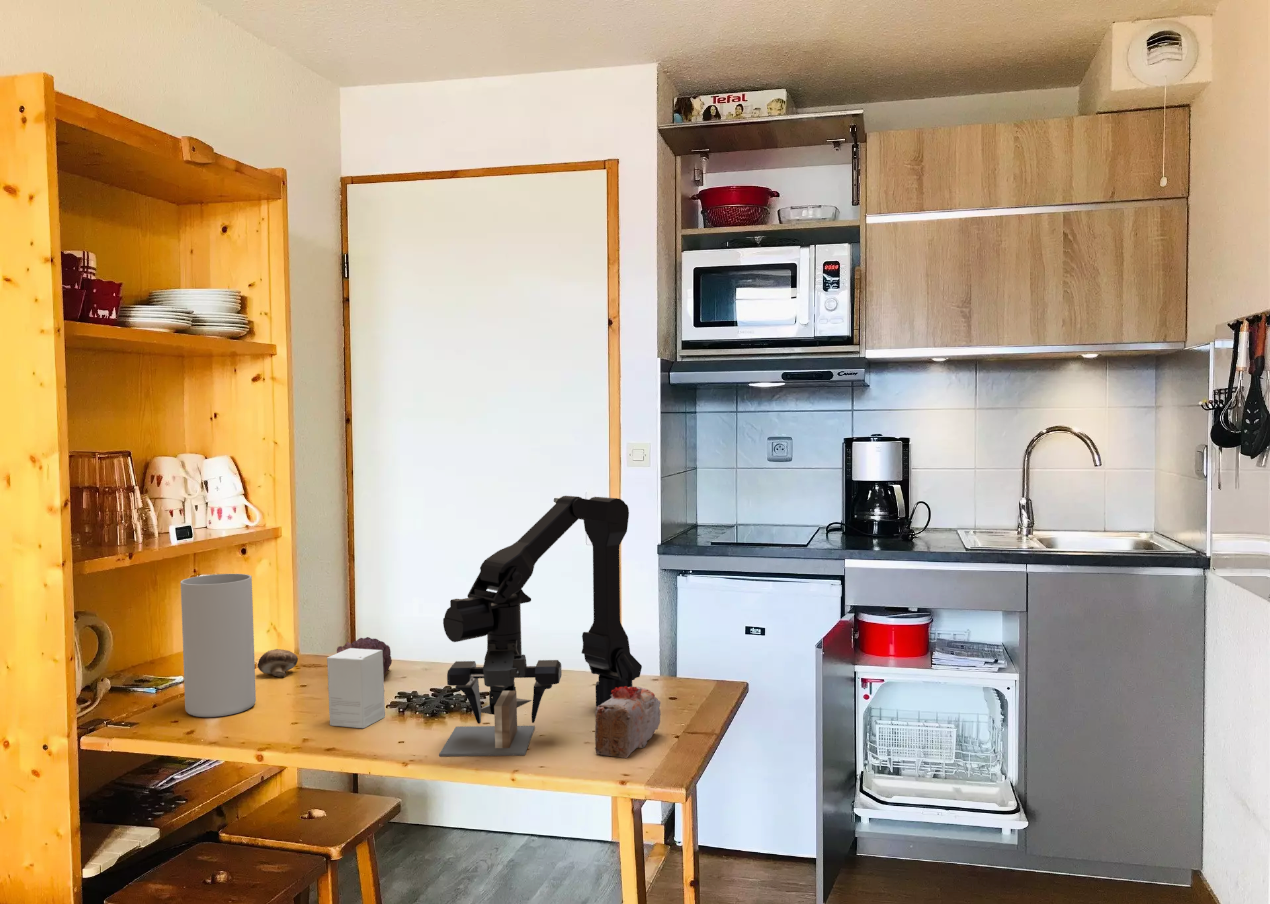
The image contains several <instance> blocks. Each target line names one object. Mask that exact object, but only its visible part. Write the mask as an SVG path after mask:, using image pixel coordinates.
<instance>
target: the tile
mask: <svg viewBox="0 0 1270 904" xmlns="http://www.w3.org/2000/svg"><path fill="white" fill-rule="evenodd" d="M493 719H494V726H495V748H510V746H511V744H512V741H513V739H514V737H515V734H516V732H517V726H518V707H517V690H516V691H502V693H501V695H500V697H499V698H498V700H497V702H496V704H495V706H494V717H493Z"/></svg>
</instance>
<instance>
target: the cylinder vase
mask: <svg viewBox="0 0 1270 904" xmlns="http://www.w3.org/2000/svg"><path fill="white" fill-rule="evenodd" d="M252 577H253V576H252V575H249V574H246V573H220V574H219V573H218V574H207V575H200V576H199V575H198V576H192V577H189V578H184V579H182V580H181V581H180V604H181V626H182V627H181V628H182V629H181V630H182V653H183V681H184V684H183V686H184V710H185V712H186V713H187V714H189V715H190V716H192V717H197V718H198V717H199V718H218V717H226V716H227V717H228V716H231V715H236V714H239V713H243V712H244V711H247V710H249V709H251V708H252V707H253V706H254V705H255V704H256V701H257V699H256V698H257V696H256V695H257V694H256V692H257V689H256V665H255V663H256V661H255V639H254V638H255V636H254V634H255V633H254V610H253V609H254V606H253V582H252V581H253V578H252Z"/></svg>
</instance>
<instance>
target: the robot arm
mask: <svg viewBox="0 0 1270 904" xmlns="http://www.w3.org/2000/svg"><path fill="white" fill-rule="evenodd" d="M629 517H630V510H629V506H628V504H626V503H625V501H624V500H623V499H621V498H617V497H615V498H614V497H606V496H604V497H603V496H593V497H590V498H589V499H587V498H582V497H581V496H572V495H563V496H560V497H559V498H558V499H557V500H556V501H555V504H554V505H553V506H552V507H551V508H550V509H549V510H548V511H547V512H546V513H544V515H543V516H541V518H539V520H537V522H535V523H534V525H532V526H531V527H530V528H529V529H528V530H527V531H526V532H525V533H524V534H523V535H522V536H521V537H520V538H519V539H518V540H517V541H515V542H514V543H513V544H511V545H509V546H506V547H504V548H501V549H499V550H497V551H496V552H494V553H493V554H491V555H490V556H488V557H487V558H486V559H484V561H483V562H482V564H481V565H480V568H479V573H478V575H477V576H476V578H475V580H474V582H473V584H472V586H471V588H470V590H469V592H468V593H467V598H466V597H465V598H453V599H451V600H450V603H449V605H450V606H449V607H448V608H447V609H446V611H445V613H444V617H443V620H442V621H443V622H442V624H443V630H444V633H445V635H446V637H447V638H448V640H449V641H451V642H453V643H458V642H463V641H468V640H471V639H476V638H477V639H478V638H481V637H486V641H487V644H486V646H487V649H486V651H485V652H486V653H485V657H484V662H483V666H477V663H476V661H475V660H472V661H471V660H470V661H469V660H468V661H466V660H465V661H464V660H463V661H462V660H461V661H457V660H456V661H454V663H453V664H452V665H451V666H450V667H449V669H447V673H446V674H447V675H446V676H447V677H446V680H447V682H446V683H447V686H449V687H452V686H453V687H454V686H455V690H456V691H461V692H462V693H463V694H464V695H465V697H466V698H467V700H468V702H469V705H470V706H471V710H472V713H473V715H474V717H475V720H476V723H477V724H479V725H480V724H481V722H482V713H481V708H482V707H481V705H482V704H481V696H480V695H481V694H480V684H479V683H480V682H479V679H483V684H484V686H485V687H489V688H490V687H493V686H505V687H508V686H511V685H513V684H514V682H515V679H518V678H520V679H521V678H522V679H523V678H524V679H527V678H531V679H532V678H534V680H535V682H534V685H533V695H532V707H531V708H532V709H531V723H532V724H535V721H536V718H537V715H538V713H539V712H538V711H539V708H540V704H541V701H542V699H543V698H542V697H543V695H544V693H545V691H546V690H549V689H552V687H553V685H557V684H560V681H561V678H562V675H563V674H562V671H563V670H562V663H561V662H560V661H559V659H543V660H541V659H539V660H538V661H537V663H536V664H535V665H530V666H529V665H527V657H526V654H523V653H522V652H523V651H522V649H523V648H522V619H521V617H522V615H521V614H522V613H521V611H522V610H521V604H527V603H531V601H532V598H531V597H530V596H529V595H528V594H526V593H525V592H524V590H523V588H524V586H525V585H526V583H527V582H528V580H529V579H530V578H531V577H532V575H533V574H534V569H535V565H536V563H537V562H538V560H540V558H541V557H542V556H544V554H545V553H546V552H547V551H548V550H549V549H550V548H551V547H552V546H553V545H554V544H556V542H557V541H558V540H559V539H560V538H561V537H563V535H564V534H565V533H566V532H567V531H568V530H569V529H570V528H571V527H572V526H573V525H574V524H575V523H576V522H577V521H579V520H583V525H584V526H583V527H584V531H585V533H586V534H587V536H588V539H589V542H590V543H591V545H592V580H593V581H592V586H593V587H592V588H593V589H592V590H593V595H592V596H593V598H592V599H593V600H592V601H593V604H592V605H593V607H592V608H593V620H592V621H593V622H592V625H591V626H590V628H589V630H588V631H583V632H582V636H581V638H582V648H581V649H582V650H581V654H583V655H584V660H585V663H587V664H588V666H589V670H590V673H591V674H593V675H598V681H596V682H595V708H596V707H598V706H599V705H601V704H602V703H604V702H606V701H607V700H609V699H610V698H612V697H611V696H610V695H612V693H611V691H612V690H614V689H615V687H617V688H619V687H625V686H626V687H634V685H633V684H634V683H633V681H635V680H636V679H638V678H640V676H641V674H642V673H641V672H642V668H643V666H642V664H641V663H640V662H639V660H637V659H636V658H635V656H633V655H632V654H631V649H630V642H629V637H628V634H627V633H626V630H625V629H624V627H623V625H622V623H621V622H622V621H621V584H620V582H621V580H620V578H621V576H620V575H621V574H620V573H621V571H620V569H621V567H620V560H621V559H620V545H621V543H622V541H623V540H624V537H625V536H626V534H627V532H628V526H629V519H630V518H629ZM495 591H496V592H495Z"/></svg>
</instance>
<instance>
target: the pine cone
mask: <svg viewBox="0 0 1270 904" xmlns="http://www.w3.org/2000/svg"><path fill="white" fill-rule="evenodd" d="M349 648H356V649H372V650H382V651H383V675H386V673H387V671H389V670H390V667H391V665H392V662H393V661H392V656H391V655H392V654H391V652H392V651H391V647H390V646H389V645H388V644H386V643H385V642H384V641H381V640H379V639H378V638H371V637H370V636H369V637H368V636H367V637H360V638H358V639H357V640H354V641H352V642H351V643H350V642H349V641H347V642H346V643H345V644H344V645H343V646H337V648H336V654H337V653H339V652H341V651H344V650H346V649H349Z"/></svg>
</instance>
